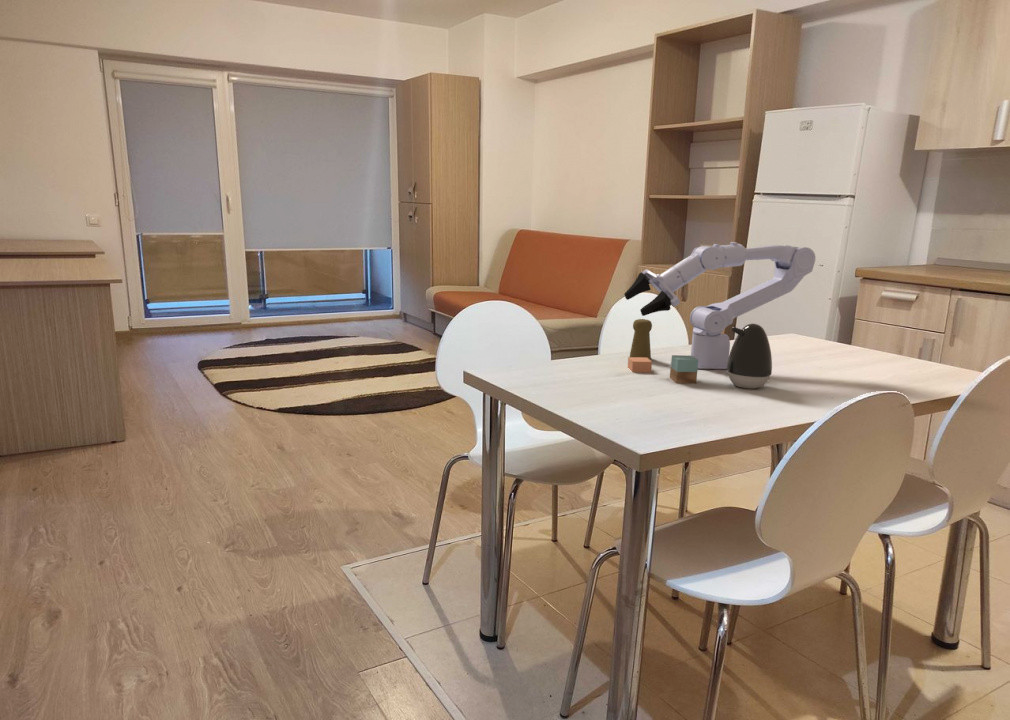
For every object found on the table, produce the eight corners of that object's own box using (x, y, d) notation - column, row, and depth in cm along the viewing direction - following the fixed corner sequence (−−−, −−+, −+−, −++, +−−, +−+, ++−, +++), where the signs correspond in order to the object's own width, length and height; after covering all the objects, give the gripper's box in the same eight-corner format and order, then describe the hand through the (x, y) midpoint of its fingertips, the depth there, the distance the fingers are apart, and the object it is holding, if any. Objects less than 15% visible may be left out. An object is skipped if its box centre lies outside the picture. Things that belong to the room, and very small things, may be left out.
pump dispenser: (717, 381, 171) (723, 320, 167) (757, 380, 172) (763, 320, 169) (735, 391, 161) (742, 327, 157) (777, 391, 162) (785, 327, 159)
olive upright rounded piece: (652, 361, 191) (655, 321, 189) (630, 360, 191) (633, 320, 189) (648, 356, 197) (651, 318, 195) (627, 355, 197) (630, 317, 195)
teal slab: (690, 367, 172) (691, 355, 171) (697, 372, 167) (698, 359, 166) (670, 367, 172) (671, 355, 171) (676, 371, 167) (677, 359, 166)
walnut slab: (689, 378, 173) (690, 367, 172) (696, 384, 168) (697, 371, 167) (669, 378, 172) (670, 366, 172) (675, 383, 168) (676, 371, 167)
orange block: (646, 368, 183) (647, 357, 182) (651, 373, 178) (652, 361, 177) (627, 368, 182) (628, 357, 182) (631, 372, 178) (632, 361, 177)
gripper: (658, 251, 182) (615, 279, 181) (691, 280, 172) (645, 310, 171) (663, 270, 187) (621, 297, 186) (695, 299, 177) (651, 328, 176)
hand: (633, 304), depth 179 cm, fingers open, 7 cm apart
